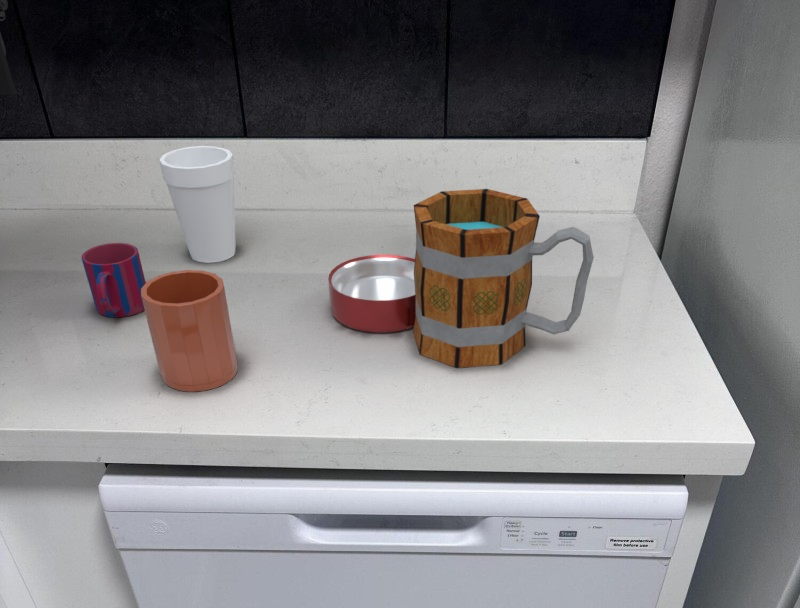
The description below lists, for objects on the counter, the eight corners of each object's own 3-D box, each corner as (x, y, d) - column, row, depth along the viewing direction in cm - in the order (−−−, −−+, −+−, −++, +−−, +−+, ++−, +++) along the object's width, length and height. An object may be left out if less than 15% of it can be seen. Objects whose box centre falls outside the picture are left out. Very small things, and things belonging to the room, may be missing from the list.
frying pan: (392, 229, 118) (391, 185, 114) (476, 238, 116) (479, 193, 111) (315, 327, 96) (311, 276, 91) (418, 341, 93) (419, 289, 89)
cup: (157, 294, 103) (145, 243, 98) (132, 331, 95) (118, 277, 91) (107, 293, 103) (92, 242, 99) (78, 330, 96) (62, 276, 91)
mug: (398, 360, 90) (396, 228, 79) (426, 307, 99) (427, 184, 89) (572, 382, 86) (594, 247, 76) (583, 325, 95) (604, 198, 85)
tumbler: (145, 379, 87) (123, 294, 80) (196, 346, 93) (179, 264, 86) (204, 399, 84) (185, 312, 77) (252, 364, 89) (239, 280, 83)
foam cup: (189, 240, 116) (170, 145, 107) (251, 240, 116) (237, 145, 107) (172, 267, 109) (151, 168, 100) (238, 267, 109) (223, 168, 100)
